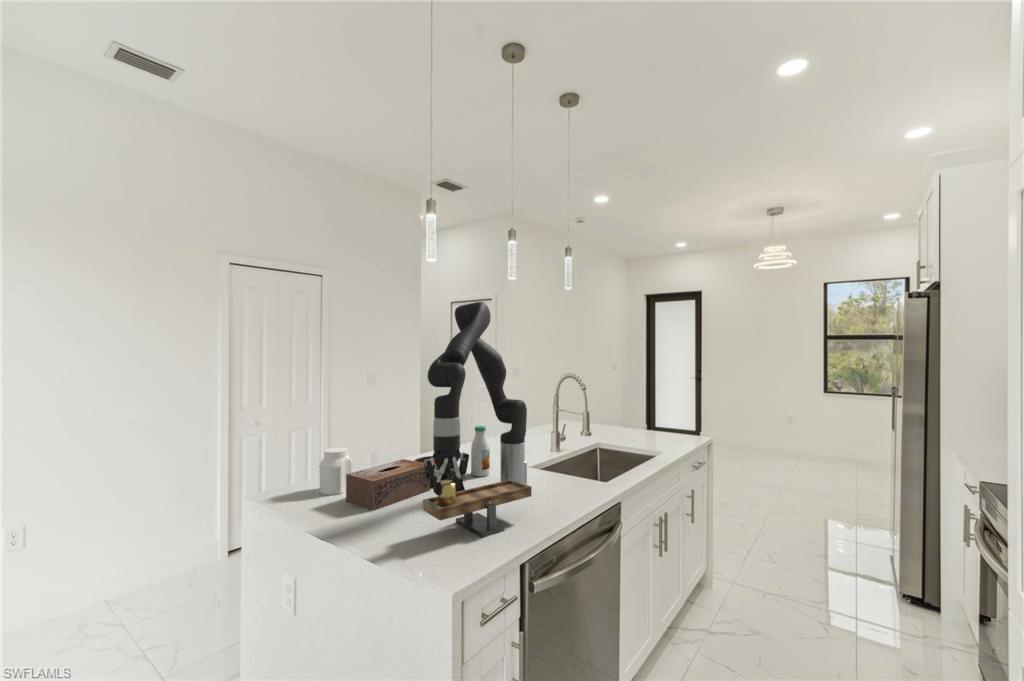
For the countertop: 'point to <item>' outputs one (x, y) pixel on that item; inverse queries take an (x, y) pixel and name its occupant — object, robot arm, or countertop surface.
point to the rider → (447, 493)
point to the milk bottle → (480, 453)
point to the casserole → (444, 476)
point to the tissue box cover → (386, 484)
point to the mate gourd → (460, 482)
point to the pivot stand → (481, 522)
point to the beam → (478, 499)
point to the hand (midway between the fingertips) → (446, 492)
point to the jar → (334, 471)
